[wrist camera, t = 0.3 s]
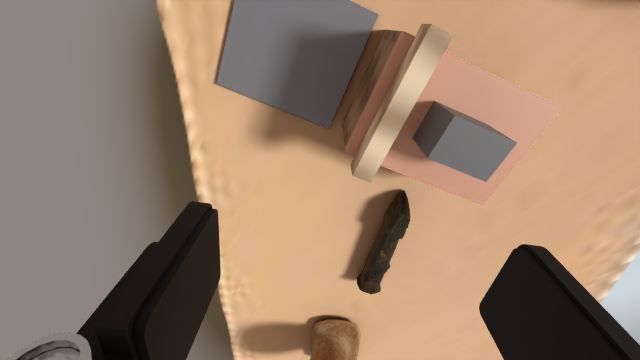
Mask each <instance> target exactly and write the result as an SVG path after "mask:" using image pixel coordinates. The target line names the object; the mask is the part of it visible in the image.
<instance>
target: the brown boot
mask: <svg viewBox="0 0 640 360" xmlns="http://www.w3.org/2000/svg"><path fill="white" fill-rule="evenodd" d="M359 345H360V331H359V328H358V326H357V325H356V324H354V323H352V322H349V321H344V320H336V319H332V320H331V319H328V320H325V321H320V322H317V323H316V324H315V326H314V328H313V331H312V335H311V353H312V356H311V358H310V360H357V356H358V350H359Z"/></svg>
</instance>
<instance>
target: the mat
mask: <svg viewBox="0 0 640 360" xmlns="http://www.w3.org/2000/svg"><path fill="white" fill-rule="evenodd" d="M377 17H378V14H376V13H374V12H372V11H370V10H368V9H366V8H364V7H362V6H360V5H358V4H356V3H354V2H352V1H349V0H235V1H234V5H233V10H232V15H231V19H230V24H229V28H228V33H227V38H226V42H225V47H224V52H223V56H222V61H221V65H220V70H219V75H218V79H217V84H218V85H221V86H223V87H226V88H228V89H231V90H233V91H236V92H238V93H241V94H243V95H246V96H248V97H251V98H253V99H256V100H258V101H261V102H263V103H266V104H268V105H271V106H273V107H276V108H278V109H281V110H283V111H286V112H288V113H291V114H293V115H296V116H298V117H301V118H303V119H306V120H308V121H311V122H313V123H316V124H318V125H321V126H323V127H326V128H328V129H329V127H330V125H331V122H332V120H333V118H334V116H335V113H336V111H337V109H338V106H339V104H340V102H341V99H342V97H343V95H344V93H345V90H346V88H347V86H348V83H349V81H350V79H351V77H352V74H353V72H354V70H355V67H356V65H357V63H358V60H359V58H360V56H361V54H362V51H363V49H364V47H365V44H366V42H367V40H368V37H369V35H370V33H371V31H372V28H373V26H374V24H375V21H376V19H377Z"/></svg>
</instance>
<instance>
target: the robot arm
mask: <svg viewBox="0 0 640 360" xmlns="http://www.w3.org/2000/svg"><path fill="white" fill-rule="evenodd" d="M220 272H221V271H220V248H219V225H218V211H217V210H216V209H212V205H211V204H209V203H201V202H193V201H192V202H190V203H189V204H188V205H187V206H186V207H185V209H184V210H183V211H182V213H181V214H180V215H179V216H178V218H177V219H176V220H175V222H174V223H173V224H172V225H171V227H170V228H169V229H168V231H167V232H166V233H165V234H164V236H163V237H162V238H161V240H160V241H159V242H153V243H151V244H150V245H149V246H148V247H147V248H146V249H145V250H144V251H143V253H142V254H141V255H140V256H139V258H138V259H137V260H136V261H135V263H134V264H133V265H132V266H131V267H130V269H129V270H128V271H127V272H126V273H125V275H124V276H123V277H122V278H121V280H120V281H119V282H118V283H117V285H116V286H115V287H114V288H113V290H112V291H111V292H110V293H109V294H108V296H107V297H106V298H105V299H104V300H103V302H102V303H101V304H100V305H99V307H98V308H97V309H96V310H95V311H94V313H93V314H92V315H91V316H90V318H89V319H88V320H87V321H86V323H85V324H84V325H83V326H82V327H81V329H80V330H79V331H78V332H77V334H74V333H59V334H53V335H50V336H47V337H43V338H40V339H38V340H36V341H34V342H32V343H30V344H28V345H26V346H24V347H23V348H21V349H20V350H18V351H17V352H15V353H14V354H12V355H11V356H10V357H8V358H7V359H6V360H186V358H187V356H188V353H189V351H190V349H191V346H192V344H193V342H194V339H195V337H196V335H197V332H198V330H199V328H200V325H201V323H202V321H203V318H204V316H205V313H206V311H207V309H208V306H209V304H210V302H211V299H212V297H213V295H214V292H215V290H216V288H217V285H218V283H219V279H220ZM479 310H480V314H481V316H482V318H483V320H484V322H485V324H486V326H487V328H488V330H489V332H490V334H491V336H492V338H493V339H494V341H495V343H496V345H497V347H498V349H499V351H500V353H501V355H502V357H503V359H504V360H640V345H639V344H638V343H637V342H636V341H635V340H634V339H633V338H632V337H631V336H630V335H629V334H628V333H627V332H626V331H625V330H624V328H623V327H622V326H621V325H620V324H619V323H618V322H617V321H616V320H615V319H614V318H613V317H612V316H611V315H610V314H609V313H608V312H607V311H606V310H605V309H604V308H603V307H602V306H601V305H600V304H599V303H598V302H597V301H596V299H595V298H594V297H593V296H592V295H591V294H590V293H589V292H588V291H587V290H586V289H585V288H584V287H583V286H582V285H581V284H580V283H579V282H578V281H577V280H576V279H575V278H574V277H573V276H572V275H571V274H570V273H569V272H568V271H567V269H566V268H565V267H564V266H563V265H562V264H561V263H560V262H559V261H558V260H557V259H556V258H555V257H554V256H553V255H552V254H551V253H550V252H549V251H548V250H547V249H546V248H544V247H541V246H534V245H526V244H523V245H520V246H519V247H518V248H516V249H514V250H513V251H512V253H511V254H510V256H509V257H508V259H507V261H506V262H505V264H504V266H503V267H502V269H501V270H500V272H499V274H498V275H497V277H496V278H495V280H494V282H493V283H492V285H491V287H490V288H489V290H488V291H487V293H486V295H485V296H484V298H483V299H482V301H481V303H480V306H479Z"/></svg>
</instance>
